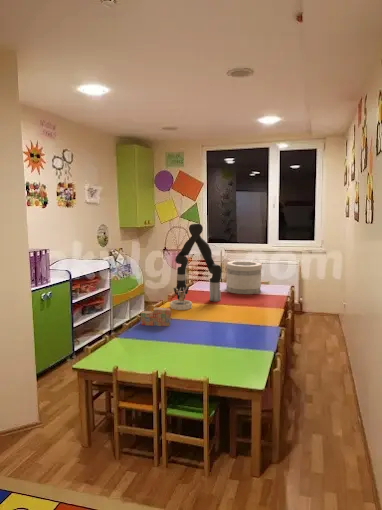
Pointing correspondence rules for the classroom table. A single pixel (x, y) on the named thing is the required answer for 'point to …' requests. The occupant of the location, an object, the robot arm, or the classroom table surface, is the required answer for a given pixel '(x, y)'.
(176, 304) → the grey ring
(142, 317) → the stack of blocks
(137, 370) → the classroom table surface
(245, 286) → the storage basket
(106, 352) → the classroom table surface
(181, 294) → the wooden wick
